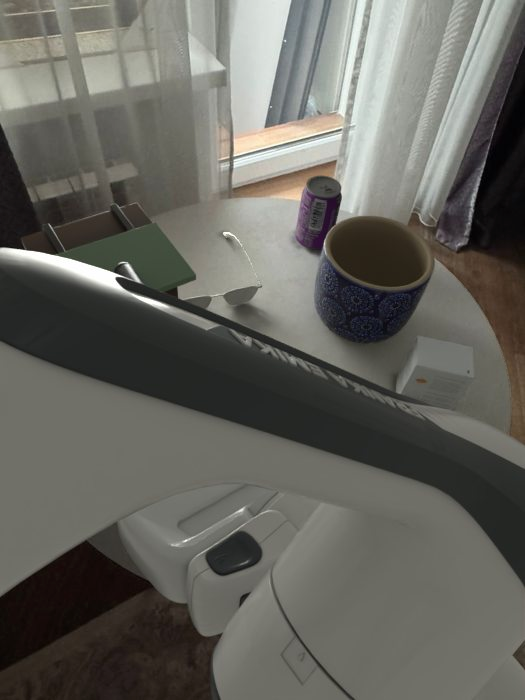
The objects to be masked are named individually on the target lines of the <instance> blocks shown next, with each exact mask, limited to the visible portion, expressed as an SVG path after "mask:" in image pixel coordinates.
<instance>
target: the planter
mask: <svg viewBox="0 0 525 700" xmlns="http://www.w3.org/2000/svg"><path fill="white" fill-rule="evenodd" d="M435 267H436V259H435V254H434V251H433V249H432V247H431V246H430V244H429V243H428V241H427V240H426V239H425V238H424V237H423V236H422V235H421V233H419V232H418V231H416V230H415V229H414V228H412V227H410V226H408V225H407V224H405V223H402V222H400V221H397V220H395V219H392V218H390V217H389V218H388V217H383V216H379V215H378V216H377V215H358V216H352V217H349V218H346V219H343V220H341V221H339V222H336V225H334V226H333V227H332V228H331V229H330V230H329V232H328V233H327V235H326V237H325V240H324V244H323V247H322V249H321V251H320V256H319V261H318V265H317V270H316V275H315V281H314V284H315V285H314V293H313V298H314V306H315V311H316V313H317V315H318V316H319V318H320V320H321V322H322V323H323V324H324V326H325V327H327V329H328V330H329V331H331V332H332V333H333V334H334V335H336V336H337V337H340V338H341V339H344V340H346V341H348V342H352V343H356V344H375V343H380V342H383V341H386V340H389V339H390V338H391V339H392V338H393V337H394V336H396V335H397V334H398V333H400V332H401V331H402V329H404V328H405V326H406V325H407V324H408V322H409V321H410V319H411V317H412V316H413V315H414V313H415V311H416V309H417V307H418V305H419V304H420V302H421V300H422V298H423V296H424V294H425V293H426V289H427V287H428V286H429V283H430V281H431V279H432V276H433V274H434V270H435Z"/></svg>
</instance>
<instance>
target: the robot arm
mask: <svg viewBox="0 0 525 700" xmlns="http://www.w3.org/2000/svg"><path fill="white" fill-rule="evenodd" d="M115 524H116V526H117V531H118V535H119V538H120V541H121V544H122V545H123V547H124V549H125V550H126V552H127V554H128V555H129V556H130V558H131V560H132V561H133V562H134V564H135V565H136V566H137V568H138V569H139V571H141V573H142V574H143V575H144V577H145V578H146V579H147V580H148V581H149V583H150V584H151V585H152V586H153V587H154V588H155V589H156V590H157V591H158V592H159V594H160V595H162V596H163V597H165V598H166V599H168V601H171V602H174V603H176V604H177V603H178V604H187V609H188V615H189V616H190V619H191V622H192V624H193V626H194V628H195V629H196V631H197V632H198V633H199V635H201V636H203V637H213V636H218V635H220V634H221V636H220V638H219V640H218V642H217V643H216V644H215V646H214V647H213V649H212V651H211V657H210V665H209V683H210V684H209V685H210V695H211V700H525V668H524V667H523V666H522V665H521V663H520V662H519V661H518V660H517V659H516V658H515V656H514V654H515V652H516V651H517V650H518V649H519V648H520V646H522V644H523V642H525V444H524V443H523V442H521V441H519V440H518V439H516V438H515V437H513V436H512V435H510V434H508V433H506V432H505V431H503V430H501V429H500V428H498V427H496V426H494V425H492V424H491V423H488V422H487V421H484V420H482V419H479V418H477V417H474V416H471V415H469V414H467V413H466V414H465V413H463V412H458V411H455V410H453V409H452V410H447V409H442V408H437V407H434V406H432V405H430V404H428V403H425V402H422V401H420V400H417V399H414V398H411V397H408V396H405V395H402V394H399V393H396V391H394V390H391V389H389V388H386V387H384V386H382V385H379V384H377V383H375V382H372V381H370V380H368V379H366V378H363V377H361V376H359V375H357V374H355V373H352V372H350V371H348V370H345V369H343V368H341V367H338V366H336V365H334V364H332V363H330V362H328V361H325V360H323V359H321V358H318V357H316V356H313V355H311V354H309V353H308V352H305V351H302V350H300V349H298V348H296V347H295V346H294V347H293V346H291V345H289V344H287V343H284V342H283V341H280V340H278V339H275V338H273V337H271V336H268V335H267V334H264V333H262V332H260V331H258V330H255V329H254V328H253V329H252V328H251V327H249V326H246V325H243V324H241V323H239V322H237V321H234V320H232V319H229V318H227V317H225V316H223V315H220V314H217V313H216V312H213V311H211V310H208V309H207V308H206V309H203V308H201V307H199V306H196V305H194V304H191V303H189V302H186V301H184V300H182V298H179V297H178V298H176V297H174V296H172V295H169V294H167V293H164V292H162V291H159V290H156V289H154V288H151V287H149V286H146V285H144V284H141V283H138V282H136V281H133V280H131V279H128V278H126V277H123V276H120V275H118V274H115V273H112V272H110V271H107V270H104V269H101V268H97V267H94V266H91V265H87V264H84V263H81V262H78V261H74V260H71V259H67V258H62V257H58V256H53V255H49V254H44V253H39V252H34V251H26V250H25V249H20V248H19V249H17V248H10V247H0V598H1V597H2V596H4V595H6V594H7V593H8V592H9V591H11V590H12V589H14V588H15V587H16V586H18V585H19V584H20V583H22V582H23V581H25V580H26V579H28V578H29V577H31V576H33V575H34V574H36V573H37V572H38V571H40V570H41V569H43V568H45V567H47V566H48V565H49V564H51V563H53V562H54V561H56V560H57V559H58V558H60V557H61V556H63V555H65V554H66V553H68V552H69V551H71V550H72V549H75V548H76V547H77V546H79V545H81V544H82V543H84V542H85V541H87V540H89V539H91V538H92V537H93V536H95V535H97V534H99V533H101V532H102V531H104V530H106V529H107V528H109V527H111V526H112V525H115Z"/></svg>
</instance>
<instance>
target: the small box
mask: <svg viewBox="0 0 525 700" xmlns="http://www.w3.org/2000/svg"><path fill="white" fill-rule="evenodd" d="M474 362H475V361H474V347H473V346H469V345H465V344H460V343H456V342H450V341H446V340H440V339H436V338H432V337H427V336H422V335H417V336H416V337H415V338H414V341H413V344H412V345H411V347H410V349H409V351H408V353H407V355H406V357H405V359H404V361H403V363H402V365H401V367H400V370H399V371H398V374H397V375H396V382H395V392H396V393H399V394H402V395H405V396H408V397H411V398H414V399H417V400H420V401H422V402H425V403H428V404H430V405H432V406H434V407H437V408H442V409H447V410H452V411H453V410H454V408H455V407H456V405H457V404H458V403H459V401H460V400H461V398H462V397H463V396H464V395H465V393H466V391H467V390H468V388H469V387H471V384H472V383H473V381H474V380H475V368H474V367H475V366H474V365H475V364H474Z"/></svg>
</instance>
